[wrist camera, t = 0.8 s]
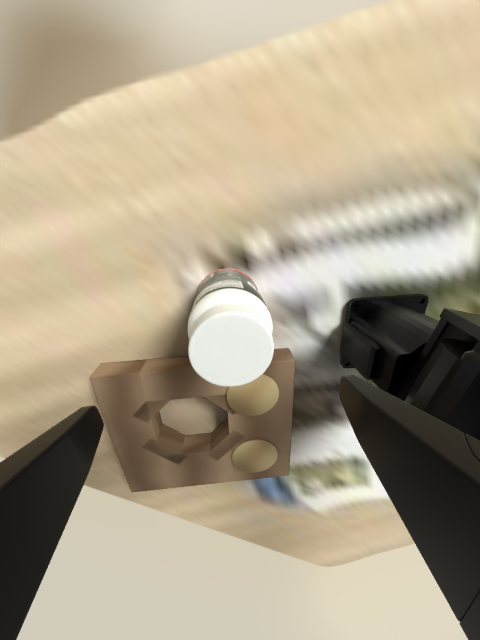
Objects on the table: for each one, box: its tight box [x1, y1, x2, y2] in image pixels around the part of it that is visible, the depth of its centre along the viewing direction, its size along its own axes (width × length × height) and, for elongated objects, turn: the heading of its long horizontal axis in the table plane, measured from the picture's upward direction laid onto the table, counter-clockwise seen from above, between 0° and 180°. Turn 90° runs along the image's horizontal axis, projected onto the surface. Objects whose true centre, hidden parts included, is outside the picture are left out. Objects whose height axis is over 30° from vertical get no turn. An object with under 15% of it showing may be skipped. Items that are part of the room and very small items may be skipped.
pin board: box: [90, 348, 295, 492], centre depth 22 cm, size 16×14×2 cm
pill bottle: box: [188, 269, 274, 387], centre depth 15 cm, size 5×5×8 cm
